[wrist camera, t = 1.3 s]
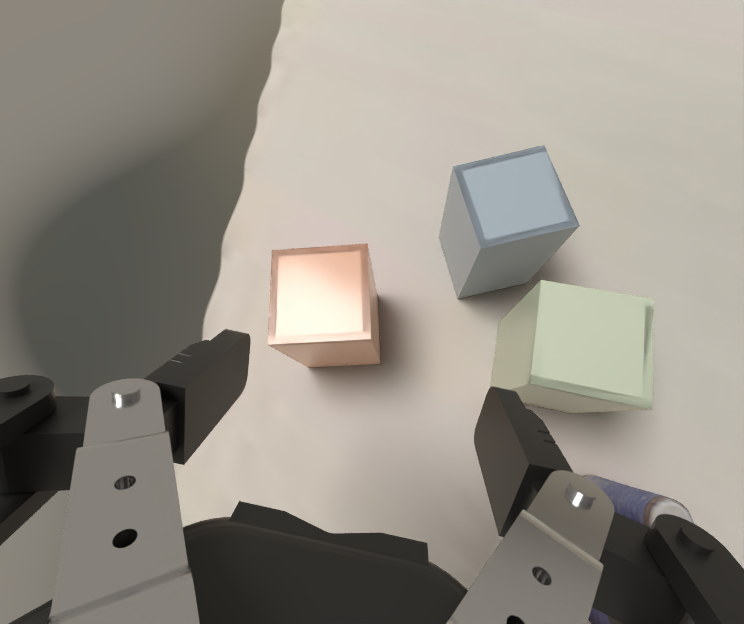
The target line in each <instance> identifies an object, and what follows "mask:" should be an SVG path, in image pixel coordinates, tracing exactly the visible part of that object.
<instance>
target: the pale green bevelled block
mask: <svg viewBox="0 0 744 624" xmlns="http://www.w3.org/2000/svg"><path fill="white" fill-rule="evenodd" d="M653 344H654V299H650V298H644V297H638V296H633V295H627V294H621V293H615V292H609V291H604V290H598V289H592V288H586V287H580V286H575V285H569V284H563V283H557V282H551V281H546V280H540V281H539V282H538V283H537V284H536V285H535V286H534V287H533V288H532V289H531V290H530V291H529V292H528V293H527V294H526V296H525V297H524V298H523V299H522V300H521V301H520V302H519V303H518V304H517V305H516V306H515V307H514V308H513V309H512V310H511V311H510V312H509V313H508V314H507V315H506V316H505V317H504V318H503V319H502V320H501V321H500V322H499V326H498V333H497V341H496V348H495V356H494V363H493V370H492V378H491V385H490V387H492V386H494V387H499V388H503V389H508V390H513V391H516V392H517V394H518V395H519V397H520V399H521V401H522V403H526V404H531V405H535V406H540V407H544V408H549V409H554V410H558V411H563V412H567V413H584V412H606V411H629V410H652V404H653Z"/></svg>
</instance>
